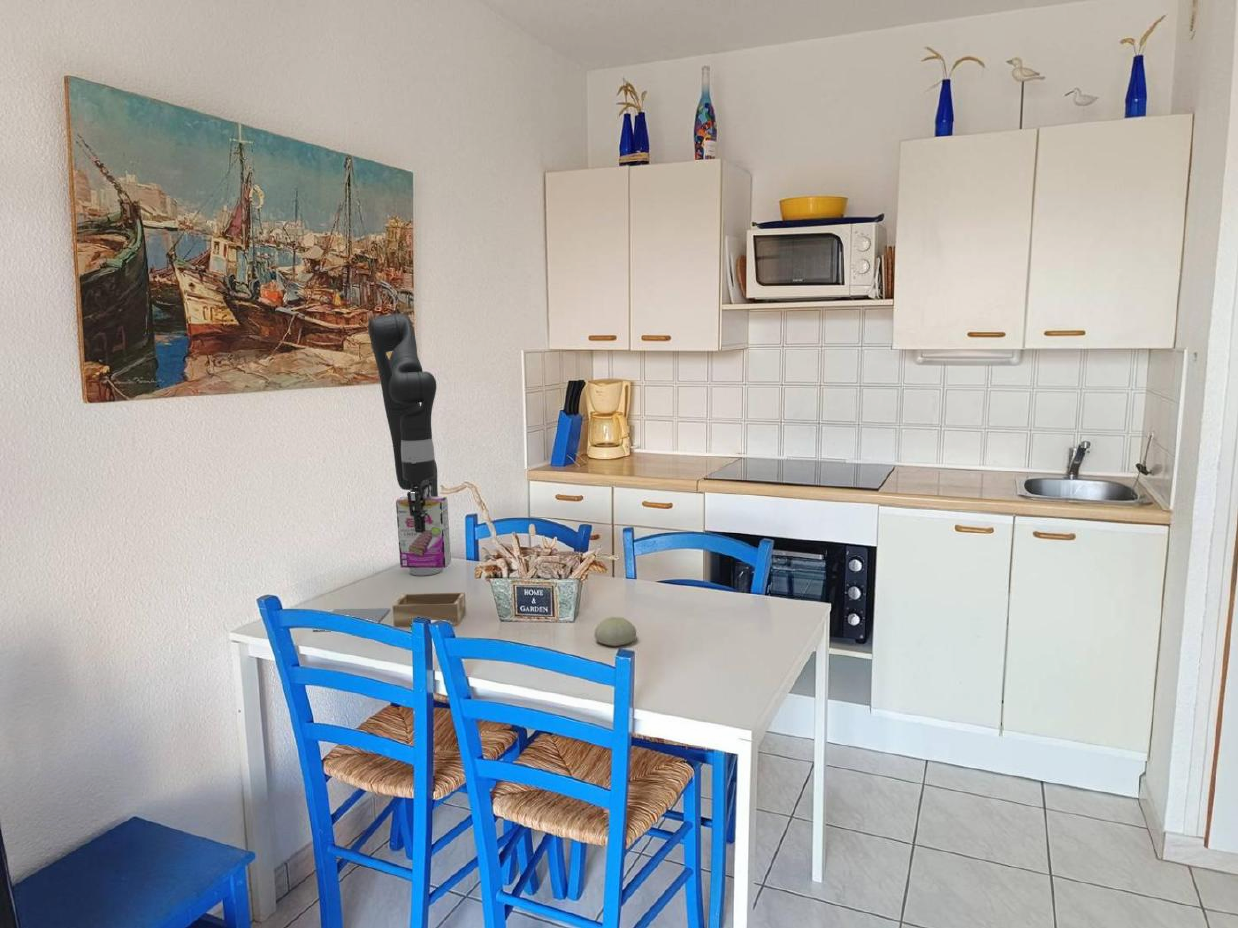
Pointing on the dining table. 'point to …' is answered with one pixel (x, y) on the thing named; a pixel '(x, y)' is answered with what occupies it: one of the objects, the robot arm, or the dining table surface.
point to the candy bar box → (424, 535)
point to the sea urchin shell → (615, 631)
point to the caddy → (429, 607)
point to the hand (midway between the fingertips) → (423, 528)
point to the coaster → (364, 613)
